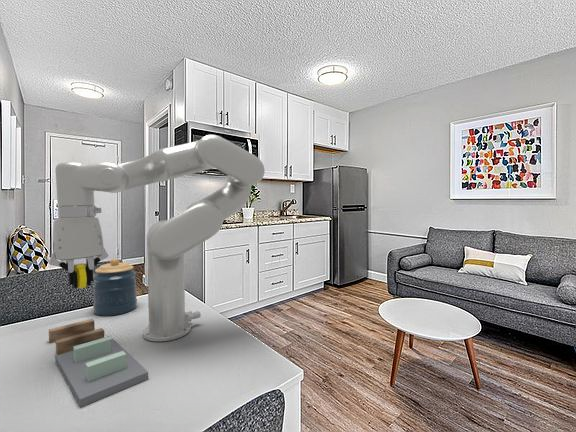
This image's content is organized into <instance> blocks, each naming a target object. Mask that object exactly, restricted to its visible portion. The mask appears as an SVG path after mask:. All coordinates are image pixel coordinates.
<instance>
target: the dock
mask: <svg viewBox="0 0 576 432" xmlns="http://www.w3.org/2000/svg"><path fill="white" fill-rule="evenodd" d="M54 358H55V365H57V367H58V370H59V371H60V373H61V375H62V377H63V378H64V381H65V382H66V384H67V386H68V388H69V390H70V391H71V393H72V395H73V397H74V399H75V400H76V402H77V404H78V406H79V407H80V408H82V407H84V406H87V405H90V404H92V403H94V402H97V401H99V400H101V399H104V398H106V397H108V396H110V395H114V394H115V393H118V392H120V391H123V390H125V389H127V388H130V387H132V386H135V385H137V384H139V383H142V382H144V381H147V380H149V371H148V370H147V369H146V368H145V367H143V366H142V365H141V364H140V362H138V361H137V360H136V359H135V357H133V356H132V355H131V354H130V353H129V352H128V351H127V350H126V349H124V347H122V346H121V345H120V344H119V343H118V342H117V341H116V340H115V339H114V338H110V337H109V336H104V338H101V339H98V340H94V341H91V342H88V343H84V344H81V345H77V346H74V347H73V351H70V352H67V353H64V354H60V355H57V354H56V355H55V356H54Z"/></svg>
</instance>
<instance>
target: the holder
mask: <svg viewBox="0 0 576 432" xmlns="http://www.w3.org/2000/svg"><path fill="white" fill-rule="evenodd" d="M101 338H105V329H103V327H100V328H97V329H95V320H94V318H90V319H87V320H82V321H79V322H73V323H71V324H65V325H61V326H58V327H54V328H50V329H48V341H49V343H50V344H52V343H55V353H56V356H57V355H60V354H64V353H67V352H70V351H73V347H74V346H77V345H81V344H84V343H88V342H91V341H94V340H98V339H101Z"/></svg>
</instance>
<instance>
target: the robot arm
mask: <svg viewBox="0 0 576 432" xmlns="http://www.w3.org/2000/svg"><path fill="white" fill-rule="evenodd" d="M210 169H216V170H218V171H220V172H222V173H223V174H225V175H227V178H226V183H225V184H224V185H223V186H222V187H221V188H219V189H217V190H216V191H215V192H213V193H211V194H210V195H208V196H205V197H204V198H202V199H200V200H198V201H195V202H193V203H191V204H190V205H189V206H188V207H186V209H185V210H182V211H181V212H179V213H177V214H176V215H174V216H172V217H171V218H169V219H166V220H165V219H164V220H159V221H157V222H155V223H154V224H152V225H151V226H150V227H149V229H148V231H147V234H146V251H147V295H148V296H147V297H148V298H147V300H148V325H147V326H146V327H144V329H143V330H142V337H143V338H144V339H145V340H147V341H150V342H158V343H159V342H160V343H161V342H168V341H173V340H177V339H179V338H181V337H183V336H186V335H187V334H188V333H189V332H190V331H191V328H192V325H191V323H190V322H191V321H192V320H196V319H200V318H201V316H202V315H201V311H200V310H197V311H195V312H193V311H191V310H190V311H186V296H185V294H186V293H185V291H186V290H185V277H186V276H185V271H186V270H185V254H186V253H189V252H190V251H192V250H193V249H194V248H196V247H198V246H199V245H201V244H203V243H204V242H206V241H207V240H210V239H211V238H212V237H214V236H215V235H216V234H217V233H218V232H219V231H220V230H221V228H222V226H223V223H224V221H225V220H227V219H228V218H230V217H231V216H233V215H234V214H236V213H237V212H239V211H240V210H241V209H242V208H244V206H245V205H246V204H247V202H248V200H249V199H250V195H251V192H252V186H255V185H257V184H259V183H260V182H261V181H262V180H263V179H264V175H265V166H264V163H263V162H262V160H261V159H260V158H259V157H258V156H257V155H255V154H253V153H251V152H249V151H248V150H246V149H244V148H242V147H240V146H239V145H237V144H235V143H233V142H231V141H229V140H228V139H226V138H223V137H222V136H220V135H216V134H211V133H210V134H206V135H205V136H203V137H201V138H200V139H199V140H195V141H191V142H186V143H183V144H178V145H173V146H169V147H165V148H159V149H158V150H155V151H154V152H151V153H150V154H148V155H146V156H144V157H142V158H139V159H135V160H130V161H127V162H123V163H118V164H117V163H114V162H109V161H105V162H95V163H94V162H93V163H83V162H72V161H71V162H60V163H57V164H56V166H55V171H54V172H55V182H56V183H55V185H56V187H55V188H56V199H57V216H58V218H57V219H54V221H53V228H52V253H51V256H50V257H49V260H48V264H49V265H50V266H54V267H58V268H62V269H63V270H65V271H66V272H67V274H68V285H69V286H72V288H73V289H77V288H78V283H77V272H76V271H75V268H74V264H75V260H81V259H85V262H86V264H87V266H86V267H85V270H86V276H87V283H86V286H88V287H89V286H92V282H94V280H93V276H94V269H95V267H96V266H97V265H98V264H99V263H100V262H102V261H103V260H105V259H107V258H108V257H109V254H108V252H107V250H106V249H105V246H104V240H103V238H104V237H103V232H102V226H101V222H100V220H99V217H97V214H100V213H102V207H97V206H96V205H95V192H102V193H103V192H105V193H109V194H110V193H111V194H115V193H116V194H117V193H122V192H126V191H129V190H132V189H133V190H134V189H136V188H140V187H143V186H147V185H152V184H154V183H161V182H166V181H170V180H173V179H178V178H180V177H185V176H188V175H193V174H195V173H196V174H197V173H199V172H205V171H208V170H210ZM94 191H95V192H94ZM64 261H65V262H64Z"/></svg>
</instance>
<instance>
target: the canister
mask: <svg viewBox="0 0 576 432" xmlns="http://www.w3.org/2000/svg"><path fill="white" fill-rule="evenodd" d="M134 267H135V266H134V265H132V264H130V263H129V262H120V260H119V259H118V258H116V257H114V258H112V259H110V261H109V262H108V263H105V264H102V265H99V267H97V268H96V269H95V273H96V274H94V275H93V282H94V284H93V286H92V289H93V293H92V294H93V305H92V307H93V312H94V314H95V315H97V316H101V317H102V316H103V317H104V316H105V317H106V316H110V317H111V316H117V315H122V314H123V315H124V314H125V313H129V312H132V311H133V310H135V309H136V308H137V303H138V299H137V281H136V278H135V277H136V275H137V272H136V271H134Z"/></svg>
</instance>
